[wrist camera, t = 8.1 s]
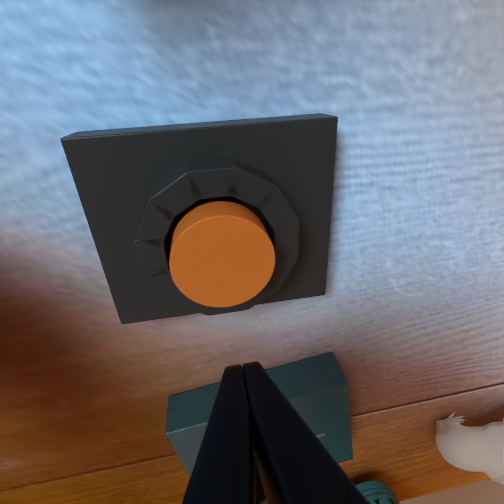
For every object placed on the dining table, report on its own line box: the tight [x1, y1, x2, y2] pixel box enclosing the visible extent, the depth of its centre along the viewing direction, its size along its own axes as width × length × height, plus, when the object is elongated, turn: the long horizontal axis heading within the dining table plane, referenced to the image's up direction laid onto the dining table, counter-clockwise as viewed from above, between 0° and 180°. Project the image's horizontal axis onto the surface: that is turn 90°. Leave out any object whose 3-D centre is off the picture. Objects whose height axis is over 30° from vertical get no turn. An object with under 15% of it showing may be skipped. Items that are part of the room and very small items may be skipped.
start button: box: [169, 201, 275, 307], centre depth 14 cm, size 4×4×2 cm
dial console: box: [166, 352, 353, 477], centre depth 25 cm, size 13×10×3 cm
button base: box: [61, 113, 338, 324], centre depth 16 cm, size 12×10×4 cm
